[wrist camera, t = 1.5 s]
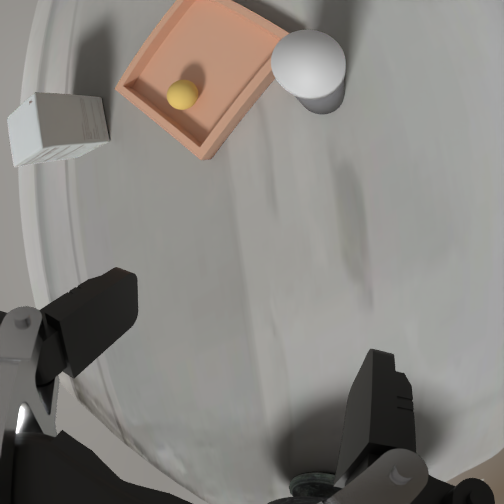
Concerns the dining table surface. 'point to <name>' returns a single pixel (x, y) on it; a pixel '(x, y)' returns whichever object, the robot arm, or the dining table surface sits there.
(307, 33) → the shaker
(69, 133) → the supplement box
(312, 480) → the decorative bowl
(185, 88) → the ball
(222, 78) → the tray
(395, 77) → the dining table surface
